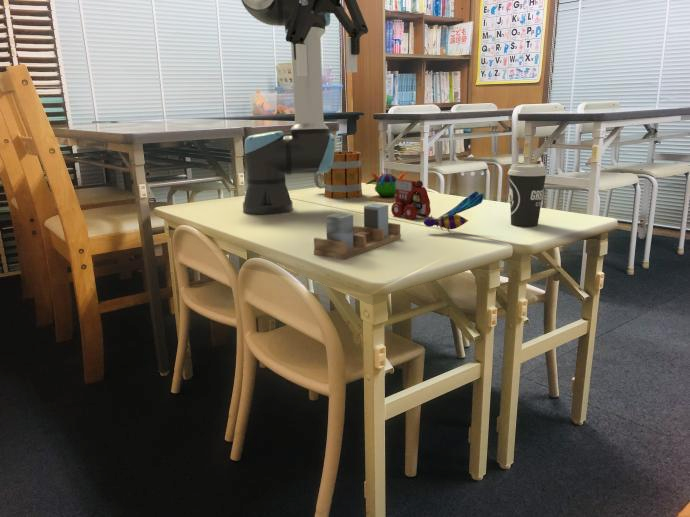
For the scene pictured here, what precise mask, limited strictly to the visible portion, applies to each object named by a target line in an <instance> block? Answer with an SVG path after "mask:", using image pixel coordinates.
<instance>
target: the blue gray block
mask: <svg viewBox="0 0 690 517" xmlns="http://www.w3.org/2000/svg"><path fill="white" fill-rule="evenodd" d="M388 223H389V204H383V203H382V204H381V203H380V204H379V203H371V204H367V205H363V224H364V226H363V227H368V228H376V229H384V236H387V235H388Z"/></svg>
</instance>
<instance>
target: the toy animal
mask: <svg viewBox="0 0 690 517" xmlns="http://www.w3.org/2000/svg"><path fill="white" fill-rule="evenodd" d="M370 173H371V176H372V177H373V179H371V180H370V181H368V182H366V183H365V185H370V184H372V183H375V186H374V191H375V192H376V195H373V196H372V195H371V196H369V197H366V198H365V201H368V202H380V203H389V204H394V203H396V188H395V181H396V180H397V179H404V177H405V175H406V173H407V171H406V170H405V171H404V172H403V173H401V174H400V175H399V176H398V177H396V176H395V175H393V174H390V173H383V172H382V171H381V172H380V173H381V175H380V176H377V174H376V173H374V172H373V171H370Z"/></svg>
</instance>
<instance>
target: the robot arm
mask: <svg viewBox="0 0 690 517" xmlns="http://www.w3.org/2000/svg"><path fill="white" fill-rule="evenodd" d="M340 1H341V0H241V3H242V6H243V7H244V8H245V10H246V11H247V13H249V14H250V15H251V16H252V17H253V18H255V19H256V20H257V21H258V22H261V23H262V24H266V25H269V26H275V27H276V26H278V27H279V26H280V27H281V26H282V27H284V31H285V32H284V33H285V34H286V36H285V41H286V42H289V43H290V44H291V45H290V46H291V48H290V49H291V51H290V52H291V68H292V88H293V105H294V106H293V107H294V110H293V111H294V124H293V125H292V126H291V128H290V130H289V131H290V135H284V134H285V133H284V131H282V130H276V131H269V132H263V133H256V134H252V135H248V136H247V137H246V138H245V140H244V152H243V153H244V155H245V156H244V157H245V171H246V172H245V173H246V189H245V194H244V200H243V203H242V212H243V213H245V214H249V215H274V214H283V213H287V212H291V211H293V209H294V206H293V204H294V203H293V200H292V199H291V197H290V193H289V191H288V190H289V189H288V187H287V183H286V181H287V180H286V176H293V175H314V174H318V175H319V174H324V173H327V172H329V171H330V169H331V167H332V164H333V159H334V152H335V149H336V148H335V145H336V143H335V138H336V137H335V135H334V134H333V133H330V128H329V127H328V125H327V124H325V122H324V121H325V120H324V98H323V97H324V96H323V75H322V73H323V72H322V48H321V46H322V44H321V38H322V37H323V35H324V34H325V33H326V27H327V26H330V24H331V14H334V16H335V18H336V19H337V20H338V22H339V23H340V25H341V26H342V28H343V29H344V30H345V32H346V34H348V35H347V37H346V38H345V56H346V57H345V60H346V73H353V74H354V73H355V74H356V73H358V55H360V53H361V49H360V46H361V45H360V44H361V42H360V40H361V39H360V38H361V37H362V36H363V35H367V34H368V32H369V28H368V26H367V23H366V21H365V19H364V15H363V14H362V12H361V9H360V6H359V4H358V2H357V0H343V1H344V4H345V6H346V9H347V11H348V14H349V15H348V14H347V12H346V11H345V8H344V6H343V5H342V3H341V2H340ZM290 210H291V211H290Z"/></svg>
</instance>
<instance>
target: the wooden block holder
mask: <svg viewBox="0 0 690 517" xmlns="http://www.w3.org/2000/svg"><path fill="white" fill-rule="evenodd" d="M325 222H326V224H325V227H326V238H321V237H314V238H313V244H314V245H313V247H314V248H313V255H317V256H321V257H328V258H333V259H337V260H338V259H340V260H347V259H349V258H352V257H355V256H357V255H360V254H363V253H365V252H367V251H368V252H369V251H371V250H373V249H376V248H379V247H381V246H385V245H387V244H389V243H393V242H394V241H397V240H400V239H401V238H402V236H401V223H393V222H388V235H387V236H384V229H376V228H368V227H364V226H358V225H354V215H353V214H347V213H340V212H339V213H338V212H337V213H334V214H330V215H326V216H325Z"/></svg>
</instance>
